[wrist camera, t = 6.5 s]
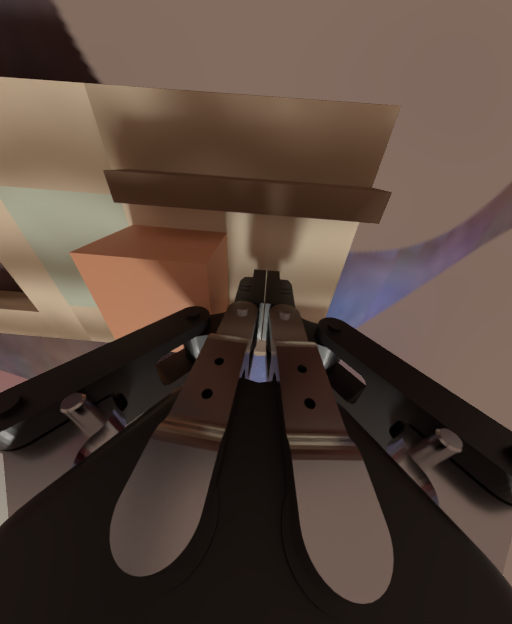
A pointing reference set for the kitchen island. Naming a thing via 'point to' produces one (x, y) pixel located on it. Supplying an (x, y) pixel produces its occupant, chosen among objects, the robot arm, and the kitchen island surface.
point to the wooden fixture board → (178, 188)
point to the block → (154, 274)
